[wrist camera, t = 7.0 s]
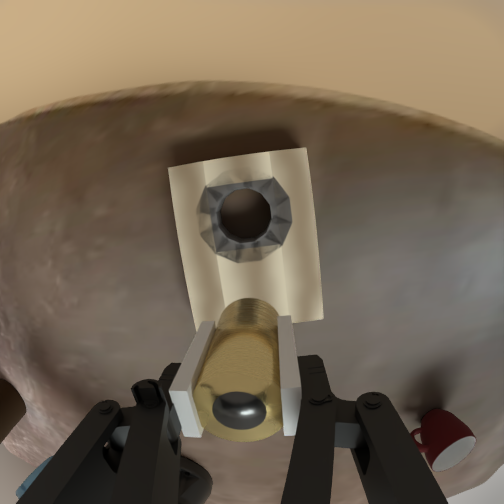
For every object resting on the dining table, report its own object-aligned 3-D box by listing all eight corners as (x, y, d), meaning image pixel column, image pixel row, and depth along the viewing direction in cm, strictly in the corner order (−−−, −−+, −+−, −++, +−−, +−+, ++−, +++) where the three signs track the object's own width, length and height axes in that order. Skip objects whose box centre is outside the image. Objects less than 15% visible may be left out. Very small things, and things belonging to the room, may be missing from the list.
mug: (392, 441, 39) (410, 482, 29) (403, 408, 37) (426, 450, 28) (443, 427, 38) (465, 462, 29) (456, 394, 37) (483, 428, 27)
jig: (201, 321, 35) (196, 332, 33) (176, 169, 32) (168, 167, 29) (318, 308, 35) (323, 318, 32) (302, 151, 31) (306, 147, 28)
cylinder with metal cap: (224, 355, 19) (201, 442, 11) (214, 300, 18) (180, 375, 11) (284, 350, 19) (291, 439, 11) (278, 294, 18) (285, 369, 10)
